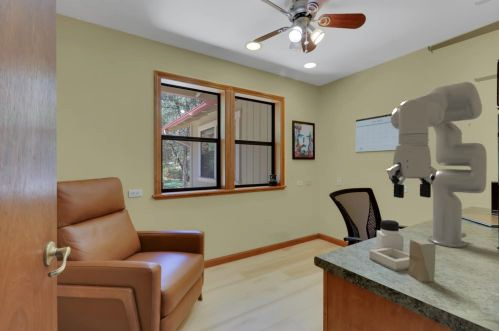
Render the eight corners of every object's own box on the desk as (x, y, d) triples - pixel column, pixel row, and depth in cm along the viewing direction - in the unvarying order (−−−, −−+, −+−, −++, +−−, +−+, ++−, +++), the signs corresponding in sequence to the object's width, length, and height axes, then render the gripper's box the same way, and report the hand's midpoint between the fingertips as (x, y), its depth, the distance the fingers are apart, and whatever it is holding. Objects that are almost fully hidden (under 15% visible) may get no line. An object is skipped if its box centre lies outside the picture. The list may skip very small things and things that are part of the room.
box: (408, 274, 74) (408, 238, 74) (421, 273, 74) (421, 238, 74) (421, 282, 69) (422, 244, 69) (435, 282, 69) (436, 243, 69)
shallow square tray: (391, 255, 89) (391, 247, 89) (419, 266, 79) (419, 257, 79) (369, 258, 86) (369, 250, 86) (395, 271, 76) (396, 261, 76)
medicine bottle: (403, 255, 89) (403, 223, 88) (382, 254, 90) (382, 222, 90) (395, 249, 96) (396, 219, 95) (376, 247, 97) (376, 218, 97)
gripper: (424, 143, 79) (423, 195, 79) (379, 141, 75) (378, 196, 75) (448, 141, 72) (447, 198, 72) (399, 139, 68) (398, 199, 68)
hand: (412, 197), depth 73 cm, fingers open, 9 cm apart
